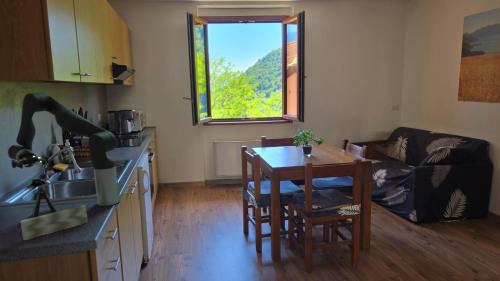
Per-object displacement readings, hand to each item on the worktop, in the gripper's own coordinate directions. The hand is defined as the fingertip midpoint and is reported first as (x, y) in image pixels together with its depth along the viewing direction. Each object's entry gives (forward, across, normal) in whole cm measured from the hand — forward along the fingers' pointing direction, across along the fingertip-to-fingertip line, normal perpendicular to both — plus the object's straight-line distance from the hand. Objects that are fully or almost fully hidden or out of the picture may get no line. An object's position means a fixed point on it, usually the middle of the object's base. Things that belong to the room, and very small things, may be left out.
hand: (33, 164), depth 154 cm
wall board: (+26, 0, +20) cm, 33 cm away
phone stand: (+11, 0, +20) cm, 23 cm away
